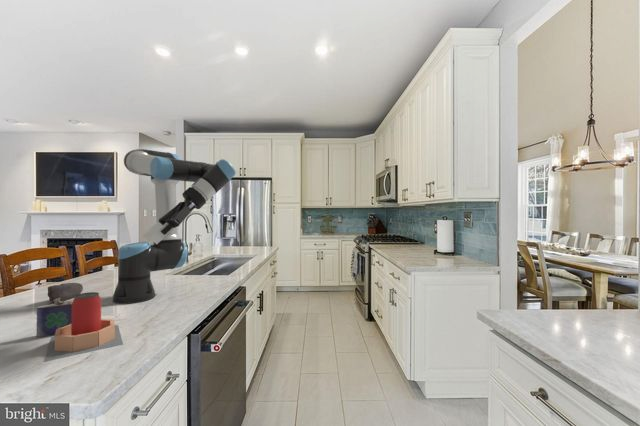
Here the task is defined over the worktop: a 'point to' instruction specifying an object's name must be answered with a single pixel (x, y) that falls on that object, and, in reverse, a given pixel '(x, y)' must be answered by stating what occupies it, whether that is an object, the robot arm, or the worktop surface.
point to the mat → (54, 354)
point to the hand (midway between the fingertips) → (149, 239)
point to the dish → (84, 337)
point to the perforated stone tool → (64, 291)
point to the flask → (53, 317)
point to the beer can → (86, 313)
